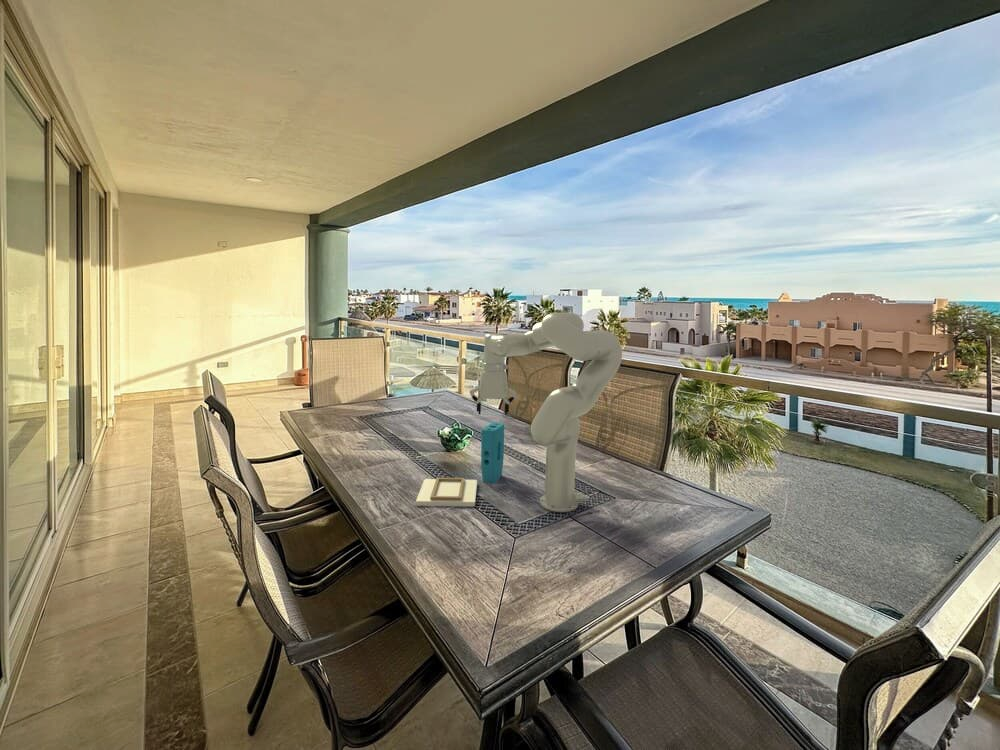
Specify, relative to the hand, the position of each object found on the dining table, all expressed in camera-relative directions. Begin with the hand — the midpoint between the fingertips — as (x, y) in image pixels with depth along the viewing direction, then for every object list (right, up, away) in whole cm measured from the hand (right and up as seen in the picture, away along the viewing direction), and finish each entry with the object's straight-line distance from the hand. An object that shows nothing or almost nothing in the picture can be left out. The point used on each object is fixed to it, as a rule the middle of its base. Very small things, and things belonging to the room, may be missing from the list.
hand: (492, 413), depth 169 cm
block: (0, -25, +4) cm, 25 cm away
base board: (-15, -27, -12) cm, 33 cm away
